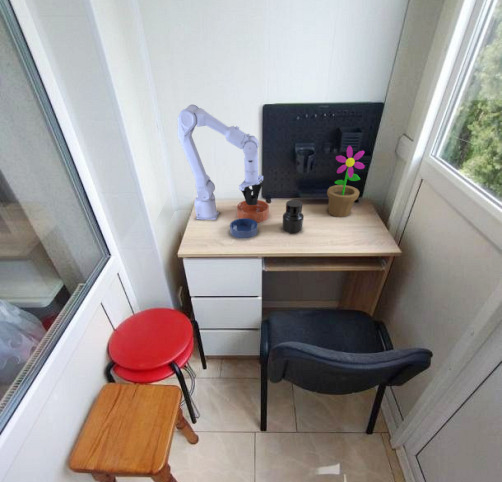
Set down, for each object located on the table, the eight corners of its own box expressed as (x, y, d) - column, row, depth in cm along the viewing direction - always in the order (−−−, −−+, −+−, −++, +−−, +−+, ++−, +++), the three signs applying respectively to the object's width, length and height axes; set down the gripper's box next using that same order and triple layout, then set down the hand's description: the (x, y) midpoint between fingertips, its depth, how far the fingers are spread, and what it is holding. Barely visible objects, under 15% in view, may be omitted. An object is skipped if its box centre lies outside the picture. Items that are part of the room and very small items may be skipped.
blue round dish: (228, 238, 121) (227, 231, 119) (233, 224, 130) (232, 217, 127) (255, 240, 120) (255, 232, 118) (259, 226, 129) (259, 218, 126)
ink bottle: (306, 230, 125) (310, 204, 117) (292, 236, 121) (294, 210, 113) (291, 221, 131) (294, 196, 122) (277, 227, 127) (278, 202, 119)
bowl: (234, 223, 131) (234, 213, 127) (240, 208, 142) (239, 198, 138) (267, 225, 129) (267, 214, 126) (270, 210, 140) (270, 200, 136)
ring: (245, 205, 128) (245, 199, 126) (247, 200, 131) (247, 194, 129) (256, 205, 127) (256, 199, 125) (258, 200, 131) (258, 194, 129)
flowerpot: (323, 217, 133) (335, 147, 113) (324, 204, 143) (336, 137, 123) (354, 220, 131) (372, 149, 110) (353, 206, 141) (370, 139, 120)
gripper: (248, 177, 113) (248, 209, 123) (269, 166, 121) (268, 197, 131) (234, 173, 116) (236, 205, 126) (256, 163, 124) (256, 194, 134)
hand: (251, 201), depth 128 cm, fingers closed on ring, 5 cm apart
